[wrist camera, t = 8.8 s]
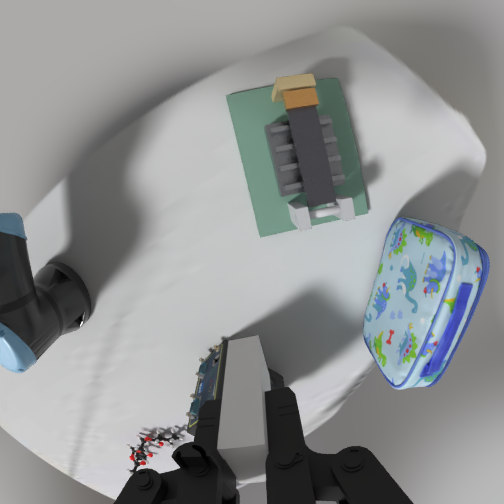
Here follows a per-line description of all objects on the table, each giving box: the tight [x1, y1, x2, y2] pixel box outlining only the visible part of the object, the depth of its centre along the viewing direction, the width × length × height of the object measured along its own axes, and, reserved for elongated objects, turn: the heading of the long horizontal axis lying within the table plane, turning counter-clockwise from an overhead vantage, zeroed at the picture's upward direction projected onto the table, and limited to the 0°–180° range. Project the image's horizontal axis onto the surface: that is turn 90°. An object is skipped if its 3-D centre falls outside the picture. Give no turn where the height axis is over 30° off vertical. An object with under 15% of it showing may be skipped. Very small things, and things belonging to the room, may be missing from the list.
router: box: [186, 340, 285, 436], centre depth 45 cm, size 8×18×20 cm, turn 50°
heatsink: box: [264, 115, 345, 197], centre depth 40 cm, size 10×11×6 cm
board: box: [226, 73, 368, 237], centre depth 39 cm, size 19×24×10 cm
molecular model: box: [126, 429, 184, 476], centre depth 56 cm, size 25×12×16 cm, turn 127°
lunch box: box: [363, 217, 490, 389], centre depth 40 cm, size 26×11×21 cm, turn 172°
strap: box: [281, 88, 336, 207], centre depth 35 cm, size 4×16×2 cm, turn 13°
